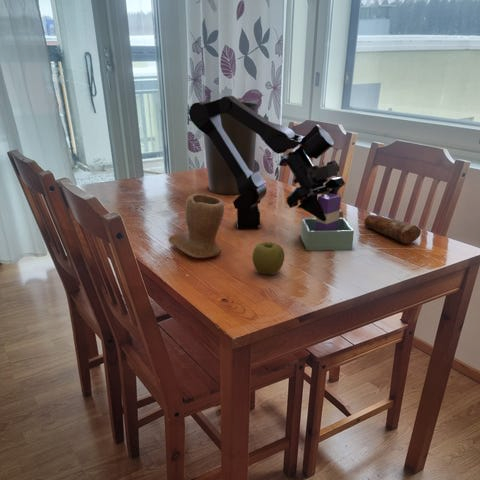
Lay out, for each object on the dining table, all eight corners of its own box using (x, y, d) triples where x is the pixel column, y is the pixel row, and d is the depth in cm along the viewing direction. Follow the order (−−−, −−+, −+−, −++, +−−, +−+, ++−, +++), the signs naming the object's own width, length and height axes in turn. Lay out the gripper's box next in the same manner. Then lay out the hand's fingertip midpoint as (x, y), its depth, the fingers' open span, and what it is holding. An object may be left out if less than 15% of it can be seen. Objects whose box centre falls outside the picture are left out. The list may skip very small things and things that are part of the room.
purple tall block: (314, 240, 131) (317, 196, 125) (326, 235, 134) (330, 192, 128) (324, 244, 129) (328, 199, 123) (336, 239, 132) (341, 195, 126)
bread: (403, 247, 128) (407, 228, 126) (359, 227, 143) (362, 209, 141) (421, 243, 131) (425, 224, 128) (376, 224, 146) (378, 206, 143)
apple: (260, 281, 110) (261, 253, 107) (246, 268, 117) (246, 241, 113) (289, 276, 113) (290, 248, 109) (274, 263, 119) (274, 237, 116)
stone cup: (233, 255, 124) (232, 199, 117) (193, 265, 119) (189, 206, 111) (205, 238, 135) (203, 186, 128) (168, 246, 130) (163, 192, 123)
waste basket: (196, 182, 191) (192, 101, 176) (243, 178, 197) (243, 100, 182) (215, 200, 169) (212, 109, 154) (267, 195, 175) (269, 106, 160)
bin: (306, 250, 127) (308, 231, 124) (300, 236, 137) (301, 218, 134) (351, 249, 127) (353, 230, 125) (342, 235, 137) (344, 217, 134)
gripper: (297, 155, 117) (328, 209, 116) (343, 146, 128) (372, 194, 126) (273, 182, 126) (302, 232, 125) (318, 171, 137) (345, 216, 135)
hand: (331, 218), depth 127 cm, fingers closed on purple tall block, 5 cm apart
